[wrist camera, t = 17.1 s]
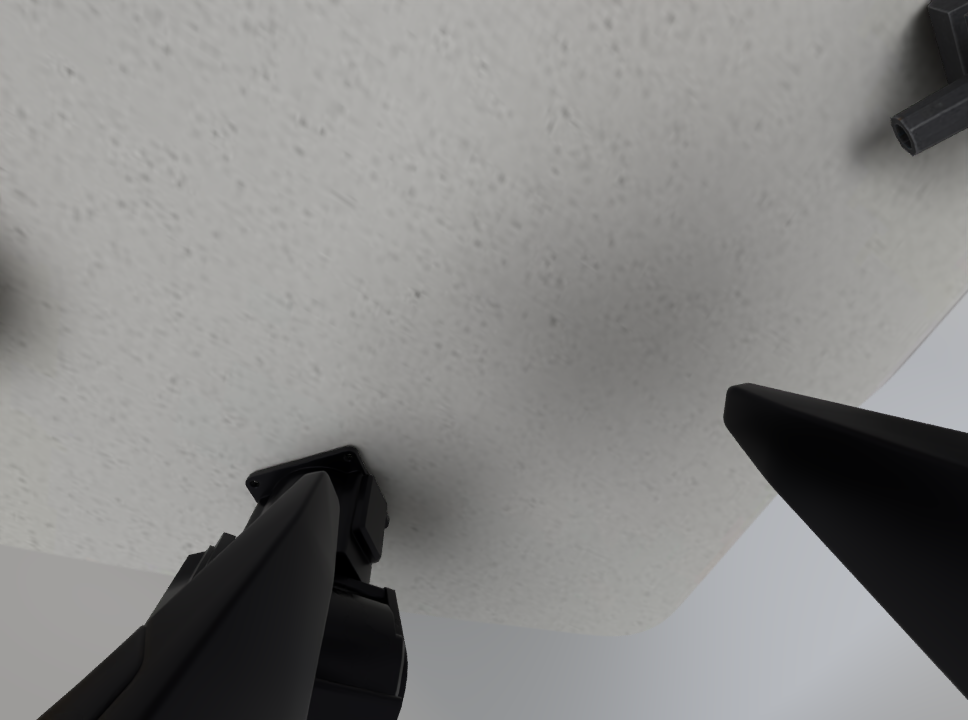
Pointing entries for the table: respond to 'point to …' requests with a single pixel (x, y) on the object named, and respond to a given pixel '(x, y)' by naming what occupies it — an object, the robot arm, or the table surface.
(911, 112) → the tool
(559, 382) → the table surface
